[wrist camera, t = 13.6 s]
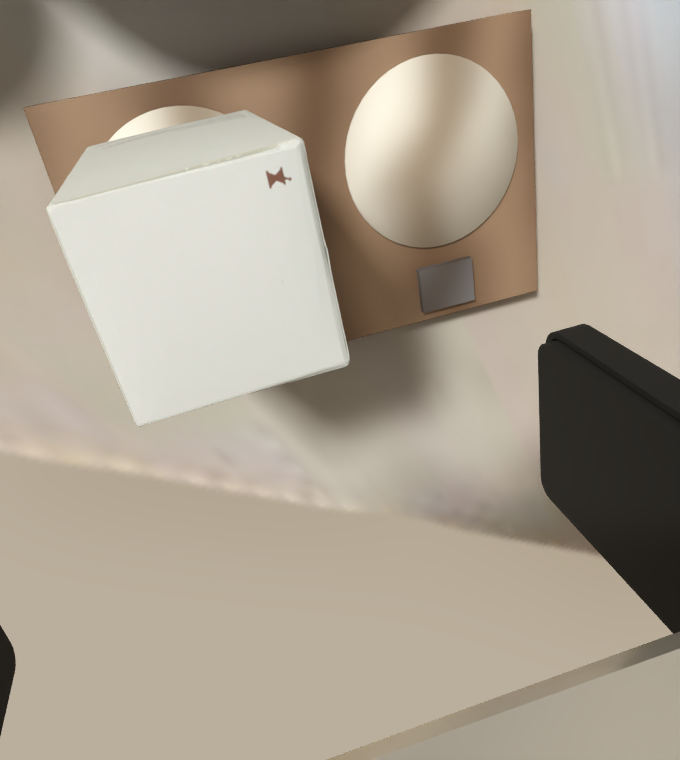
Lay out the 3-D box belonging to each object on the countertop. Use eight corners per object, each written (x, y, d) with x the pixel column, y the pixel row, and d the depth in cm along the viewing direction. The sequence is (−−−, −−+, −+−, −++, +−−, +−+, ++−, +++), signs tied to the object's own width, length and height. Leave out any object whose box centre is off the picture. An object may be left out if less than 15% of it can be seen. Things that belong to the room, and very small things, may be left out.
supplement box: (81, 144, 28) (34, 196, 17) (249, 106, 29) (312, 131, 18) (138, 303, 31) (131, 434, 20) (286, 264, 32) (358, 368, 21)
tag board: (518, 11, 31) (535, 8, 30) (526, 283, 38) (541, 292, 36) (28, 106, 28) (21, 108, 26) (131, 388, 34) (130, 402, 33)
